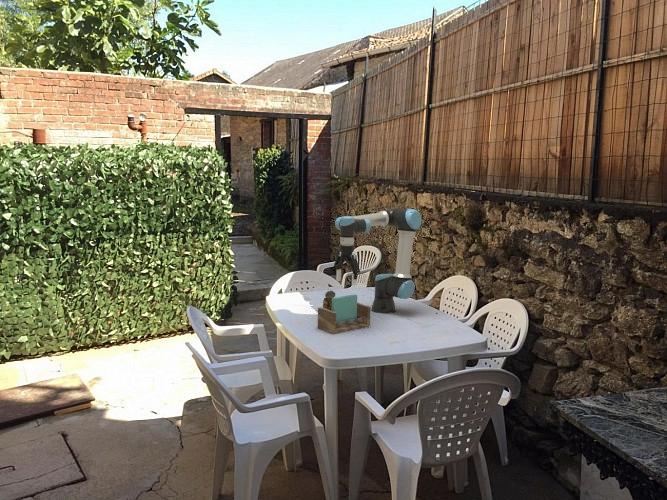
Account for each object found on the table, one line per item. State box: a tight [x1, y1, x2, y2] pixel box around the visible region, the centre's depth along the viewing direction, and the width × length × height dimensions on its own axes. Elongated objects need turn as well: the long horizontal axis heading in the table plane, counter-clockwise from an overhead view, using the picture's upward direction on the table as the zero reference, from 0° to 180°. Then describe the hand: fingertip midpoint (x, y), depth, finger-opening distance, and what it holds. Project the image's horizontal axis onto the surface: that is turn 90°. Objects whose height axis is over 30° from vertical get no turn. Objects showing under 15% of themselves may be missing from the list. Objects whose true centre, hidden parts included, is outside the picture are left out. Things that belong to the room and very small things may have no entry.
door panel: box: [332, 294, 358, 322], centre depth 296 cm, size 16×2×16 cm, turn 127°
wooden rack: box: [317, 302, 372, 335], centre depth 296 cm, size 26×14×12 cm, turn 127°
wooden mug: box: [322, 290, 336, 311], centre depth 315 cm, size 9×14×18 cm, turn 7°
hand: (346, 283), depth 295 cm, fingers open, 13 cm apart
